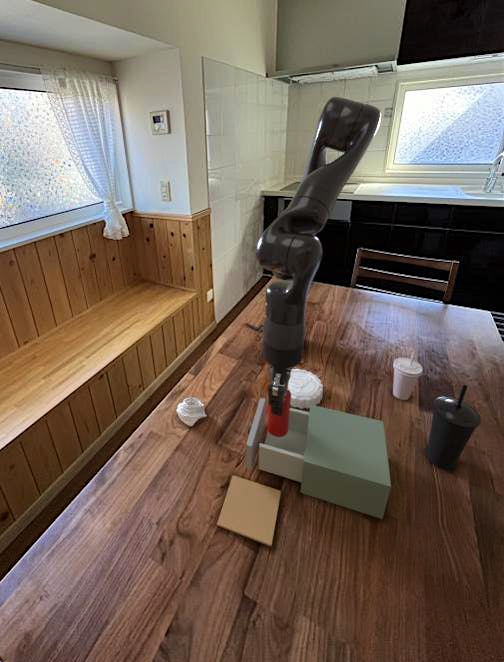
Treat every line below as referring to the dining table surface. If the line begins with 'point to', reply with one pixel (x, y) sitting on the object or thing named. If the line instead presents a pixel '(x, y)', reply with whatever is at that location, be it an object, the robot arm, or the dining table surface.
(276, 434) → the ketchup bottle
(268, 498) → the cork coaster
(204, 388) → the dining table surface
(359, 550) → the dining table surface
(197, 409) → the whipped cream
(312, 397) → the mooncake
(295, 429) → the drawer
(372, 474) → the cabinet
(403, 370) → the smoothie
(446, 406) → the drinking cup
